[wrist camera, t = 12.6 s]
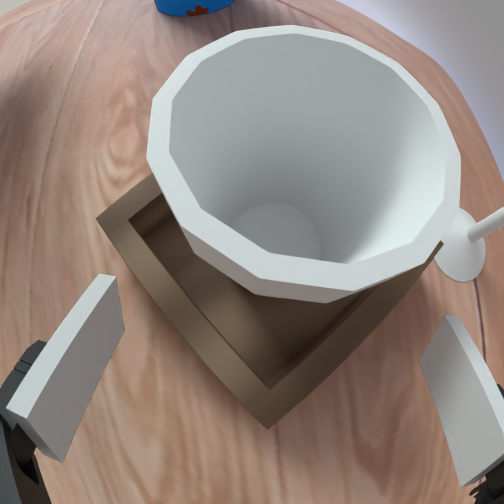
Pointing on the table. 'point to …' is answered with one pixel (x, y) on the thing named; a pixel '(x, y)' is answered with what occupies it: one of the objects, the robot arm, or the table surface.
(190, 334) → the square wooden tray
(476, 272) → the champagne flute
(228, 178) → the foam cup
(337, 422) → the table surface
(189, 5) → the thermos
